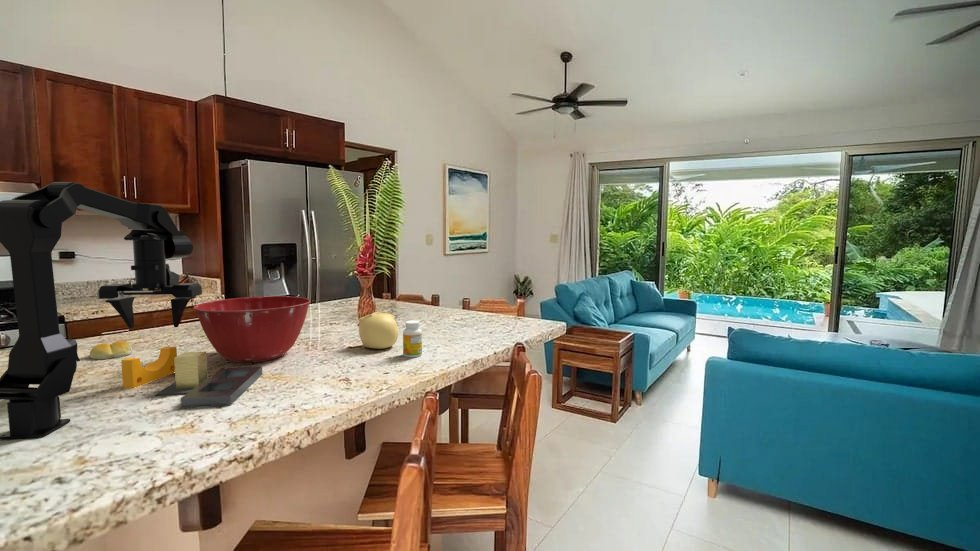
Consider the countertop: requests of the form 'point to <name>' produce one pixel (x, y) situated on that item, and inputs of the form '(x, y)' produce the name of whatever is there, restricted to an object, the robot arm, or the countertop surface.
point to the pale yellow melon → (378, 330)
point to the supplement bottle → (412, 339)
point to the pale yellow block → (190, 369)
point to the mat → (173, 390)
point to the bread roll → (111, 350)
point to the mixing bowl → (253, 326)
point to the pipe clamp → (148, 368)
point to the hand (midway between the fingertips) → (154, 327)
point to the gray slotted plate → (222, 387)
